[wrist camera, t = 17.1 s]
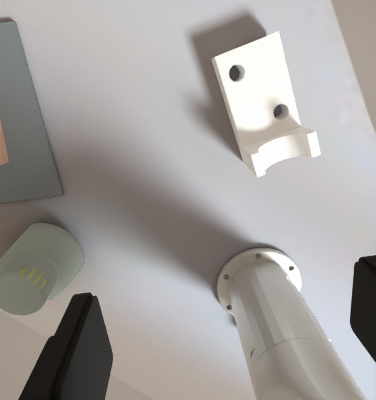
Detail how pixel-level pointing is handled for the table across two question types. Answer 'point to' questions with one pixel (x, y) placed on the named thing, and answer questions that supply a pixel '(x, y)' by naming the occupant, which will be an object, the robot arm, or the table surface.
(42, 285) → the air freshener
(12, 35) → the mat
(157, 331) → the table surface
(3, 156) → the card box
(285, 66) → the bracket
